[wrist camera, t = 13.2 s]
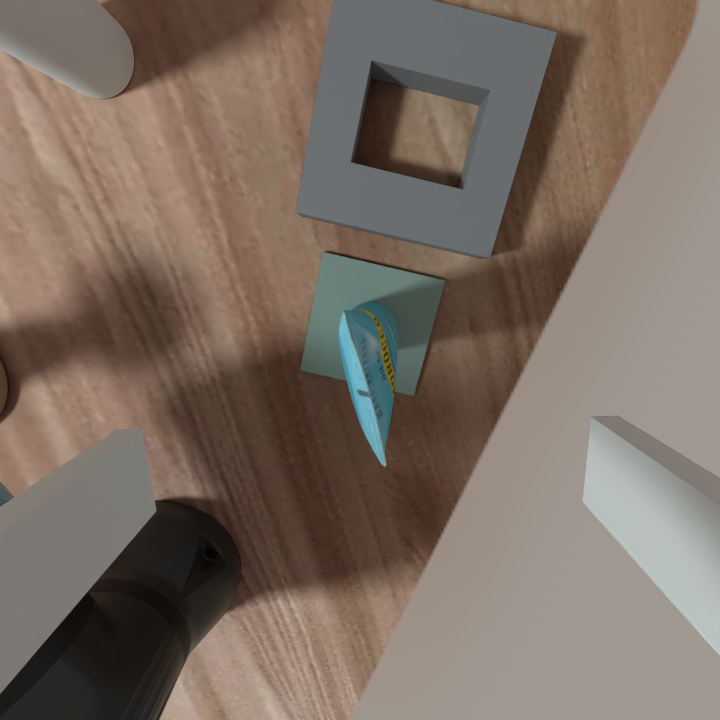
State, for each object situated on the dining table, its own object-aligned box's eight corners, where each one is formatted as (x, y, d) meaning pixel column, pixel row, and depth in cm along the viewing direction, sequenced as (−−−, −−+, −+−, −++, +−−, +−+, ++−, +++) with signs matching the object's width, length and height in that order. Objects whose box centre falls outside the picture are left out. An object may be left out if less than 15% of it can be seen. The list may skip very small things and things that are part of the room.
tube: (408, 357, 37) (438, 452, 18) (358, 373, 38) (338, 481, 19) (382, 279, 36) (385, 296, 17) (330, 297, 36) (279, 334, 17)
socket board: (480, 258, 35) (489, 258, 32) (301, 216, 35) (295, 212, 32) (539, 53, 32) (557, 32, 29) (340, 2, 31) (337, -24, 28)
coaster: (413, 394, 38) (413, 396, 38) (300, 369, 38) (299, 370, 38) (444, 280, 36) (445, 280, 35) (323, 252, 36) (323, 252, 35)
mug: (134, 7, 32) (-5, -142, 20) (143, 104, 33) (20, 18, 21) (8, 6, 32) (-203, -142, 20) (23, 102, 33) (-164, 16, 22)
